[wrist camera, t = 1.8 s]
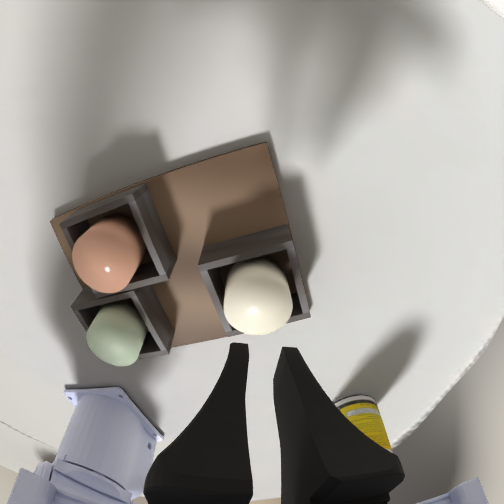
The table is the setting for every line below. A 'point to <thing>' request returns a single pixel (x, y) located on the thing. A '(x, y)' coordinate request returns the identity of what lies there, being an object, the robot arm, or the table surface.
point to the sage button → (117, 333)
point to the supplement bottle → (365, 418)
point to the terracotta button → (109, 253)
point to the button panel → (192, 245)
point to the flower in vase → (495, 6)
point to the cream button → (257, 296)
